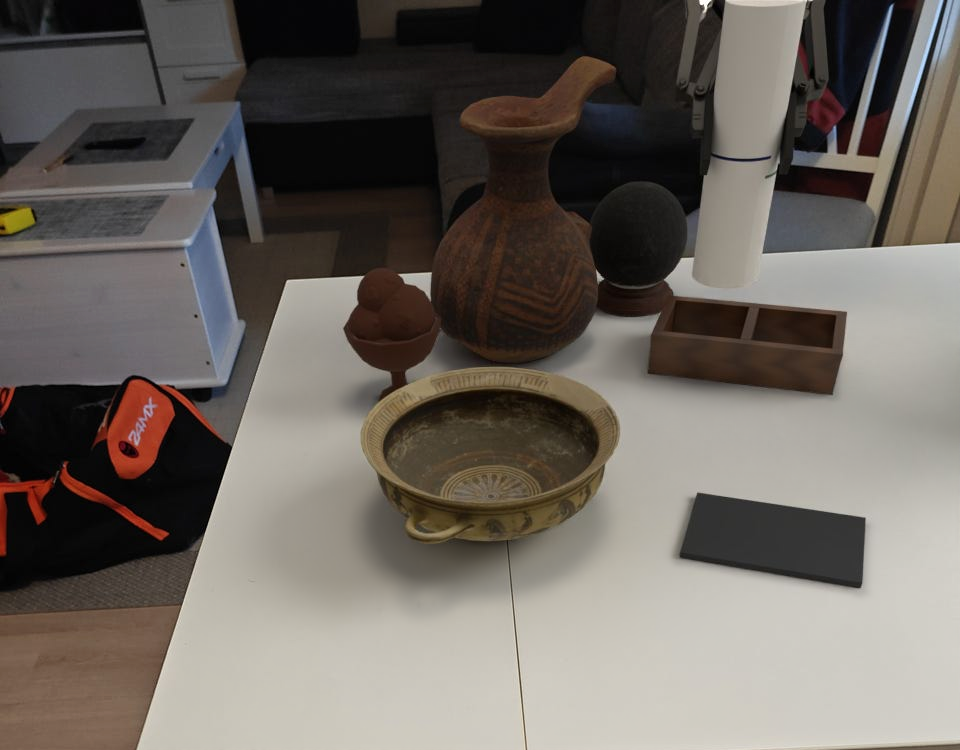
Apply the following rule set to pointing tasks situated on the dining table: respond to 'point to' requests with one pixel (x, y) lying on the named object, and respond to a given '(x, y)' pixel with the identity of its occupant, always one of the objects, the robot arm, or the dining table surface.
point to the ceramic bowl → (489, 451)
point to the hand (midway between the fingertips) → (745, 167)
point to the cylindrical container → (745, 137)
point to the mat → (776, 539)
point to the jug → (520, 232)
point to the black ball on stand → (637, 247)
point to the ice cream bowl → (392, 325)
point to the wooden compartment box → (748, 343)
